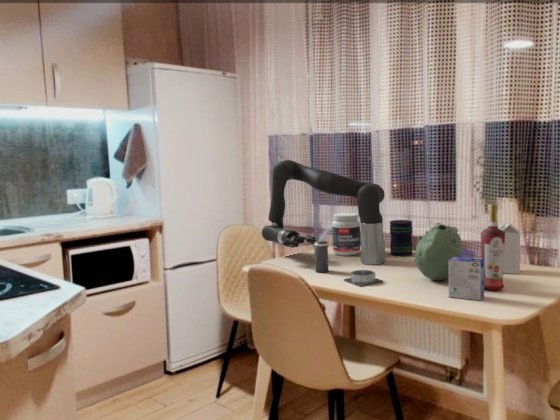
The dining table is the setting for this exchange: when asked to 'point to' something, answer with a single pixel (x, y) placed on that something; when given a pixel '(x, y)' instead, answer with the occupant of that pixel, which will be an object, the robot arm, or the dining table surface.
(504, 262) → the milk carton
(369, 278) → the grey ring on plate
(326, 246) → the tube
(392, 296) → the dining table surface
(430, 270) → the green bumpy vase
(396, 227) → the storage jar
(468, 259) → the ink cartridge box
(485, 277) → the liquor
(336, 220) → the supplement tub
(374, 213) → the robot arm
